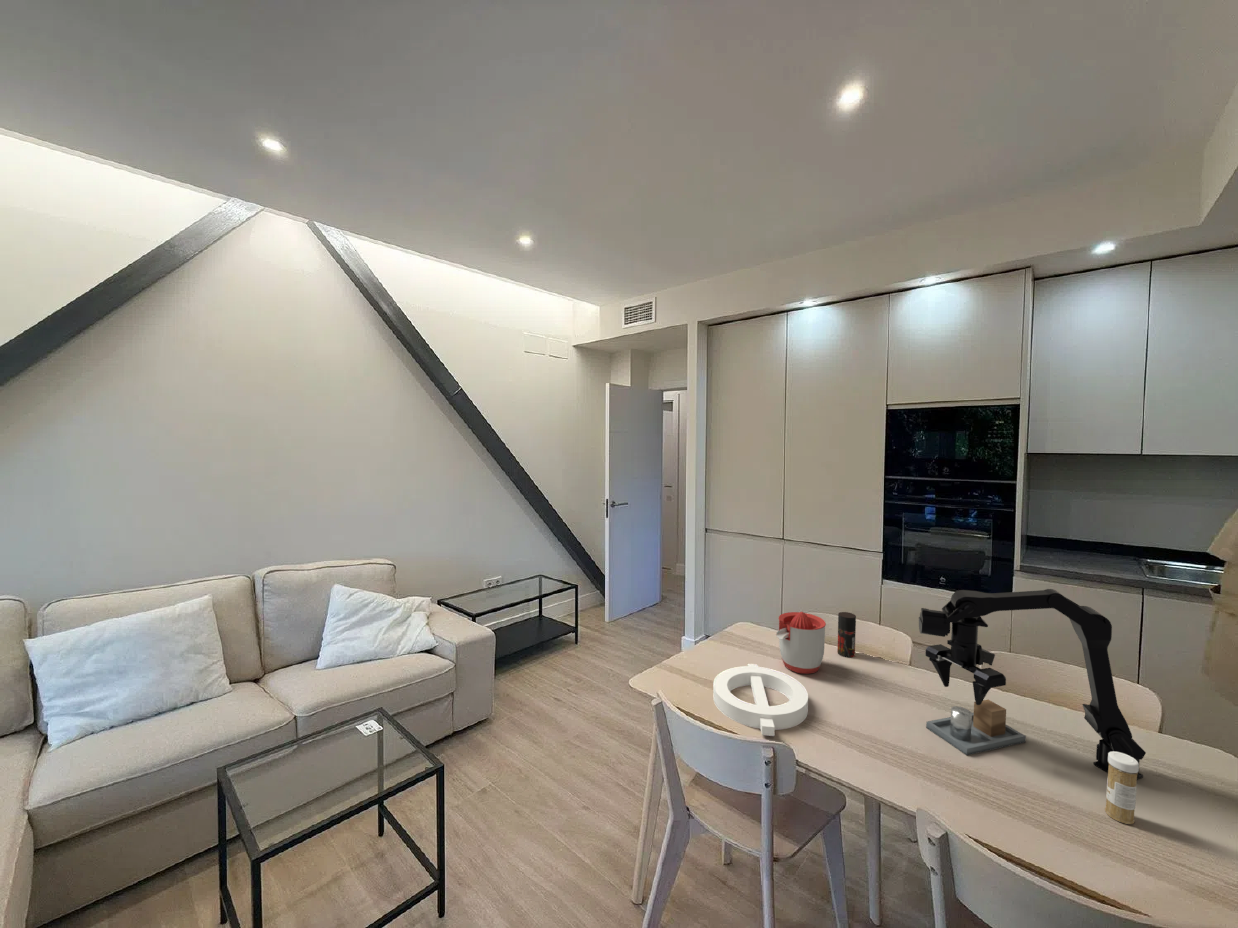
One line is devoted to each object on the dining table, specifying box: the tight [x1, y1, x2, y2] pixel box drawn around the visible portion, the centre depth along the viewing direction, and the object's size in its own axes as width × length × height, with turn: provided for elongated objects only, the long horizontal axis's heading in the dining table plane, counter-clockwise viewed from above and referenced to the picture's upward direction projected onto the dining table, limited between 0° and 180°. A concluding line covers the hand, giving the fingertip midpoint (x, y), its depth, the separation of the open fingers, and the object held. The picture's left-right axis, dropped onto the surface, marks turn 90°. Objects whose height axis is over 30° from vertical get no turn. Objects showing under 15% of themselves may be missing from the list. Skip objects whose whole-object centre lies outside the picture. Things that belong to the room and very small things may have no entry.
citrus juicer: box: [775, 611, 827, 674], centre depth 170 cm, size 16×17×20 cm
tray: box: [925, 712, 1027, 756], centre depth 132 cm, size 12×20×2 cm, turn 104°
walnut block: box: [973, 699, 1007, 737], centre depth 133 cm, size 5×5×7 cm
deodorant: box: [837, 611, 857, 659], centre depth 180 cm, size 6×6×15 cm
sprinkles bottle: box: [1104, 751, 1140, 825], centre depth 103 cm, size 5×5×13 cm
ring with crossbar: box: [712, 663, 809, 737], centre depth 149 cm, size 28×28×5 cm
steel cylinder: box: [950, 705, 973, 741], centre depth 130 cm, size 5×5×7 cm
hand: (961, 695), depth 130 cm, fingers open, 9 cm apart
